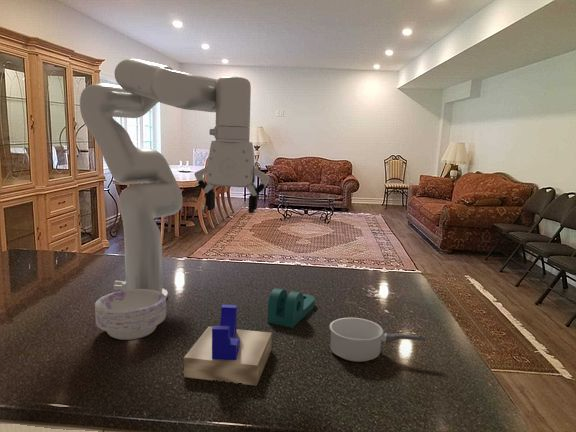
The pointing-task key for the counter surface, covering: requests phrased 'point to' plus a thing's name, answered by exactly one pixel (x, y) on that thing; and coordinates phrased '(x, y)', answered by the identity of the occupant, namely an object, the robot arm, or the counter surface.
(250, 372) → the plate
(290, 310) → the bracket
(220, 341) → the blue stepped block
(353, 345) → the saucepan
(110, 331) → the paper bowls
